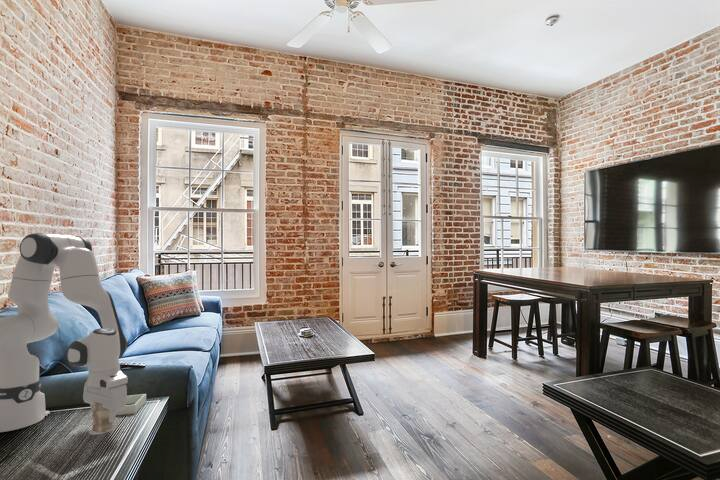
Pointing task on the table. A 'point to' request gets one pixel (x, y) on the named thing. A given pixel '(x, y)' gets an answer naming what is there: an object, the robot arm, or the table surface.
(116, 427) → the grey pot lid
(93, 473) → the table surface
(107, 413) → the tan rectangular block
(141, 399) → the bin
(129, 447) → the table surface
